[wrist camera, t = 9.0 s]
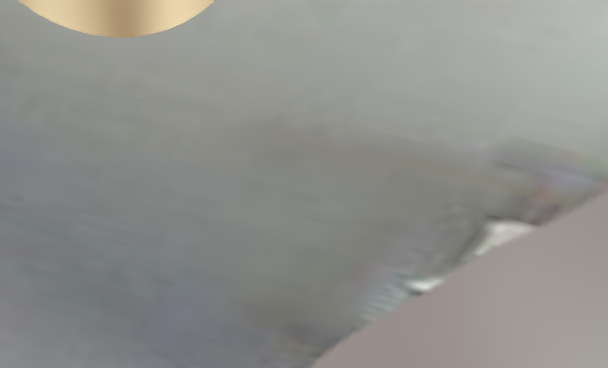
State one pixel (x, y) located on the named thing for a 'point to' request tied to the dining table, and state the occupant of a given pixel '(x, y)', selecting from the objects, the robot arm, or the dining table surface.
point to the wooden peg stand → (118, 15)
